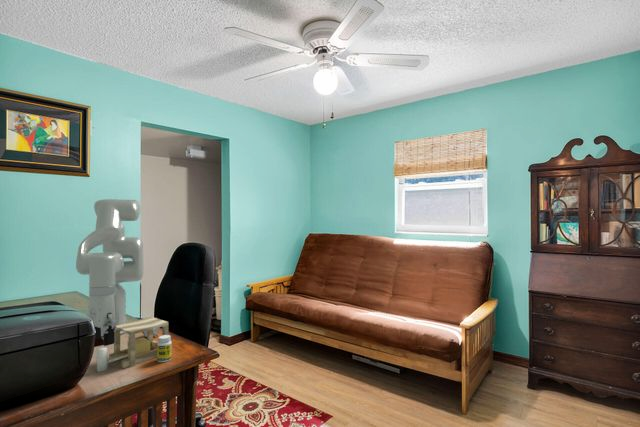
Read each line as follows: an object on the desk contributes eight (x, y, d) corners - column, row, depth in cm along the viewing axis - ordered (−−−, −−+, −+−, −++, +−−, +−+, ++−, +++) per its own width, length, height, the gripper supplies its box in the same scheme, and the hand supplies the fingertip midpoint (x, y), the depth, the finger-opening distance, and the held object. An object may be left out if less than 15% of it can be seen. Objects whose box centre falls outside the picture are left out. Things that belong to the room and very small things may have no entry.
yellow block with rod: (93, 369, 117) (93, 348, 118) (142, 353, 131) (142, 334, 131) (101, 373, 114) (101, 352, 114) (150, 356, 128) (150, 337, 128)
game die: (145, 346, 148) (131, 328, 148) (161, 333, 155) (147, 316, 155) (153, 340, 143) (138, 321, 142) (170, 327, 150) (155, 309, 150)
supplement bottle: (156, 363, 122) (156, 339, 122) (157, 358, 126) (157, 335, 126) (171, 361, 124) (171, 337, 124) (171, 356, 128) (171, 333, 128)
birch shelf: (108, 360, 124) (108, 327, 124) (151, 346, 137) (151, 316, 138) (124, 369, 117) (124, 333, 118) (168, 353, 131) (168, 321, 131)
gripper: (78, 290, 119) (78, 340, 118) (102, 295, 109) (101, 350, 109) (102, 287, 125) (102, 334, 125) (126, 291, 115) (126, 343, 115)
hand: (102, 341), depth 117 cm, fingers open, 9 cm apart
